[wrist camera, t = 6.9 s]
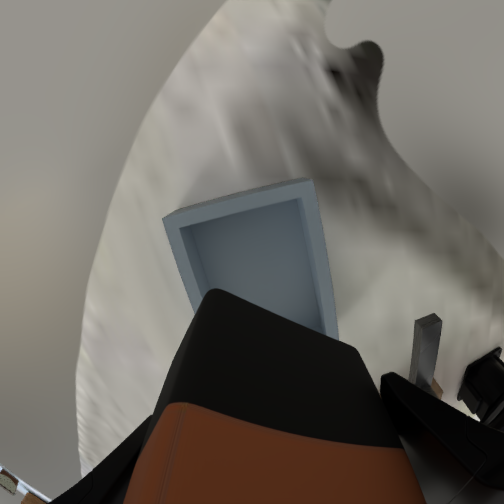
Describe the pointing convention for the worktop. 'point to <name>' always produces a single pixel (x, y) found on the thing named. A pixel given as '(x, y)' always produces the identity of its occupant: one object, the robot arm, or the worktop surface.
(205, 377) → the battery
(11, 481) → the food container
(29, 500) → the bread
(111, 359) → the worktop surface
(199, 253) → the tray
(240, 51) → the worktop surface
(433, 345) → the crank
